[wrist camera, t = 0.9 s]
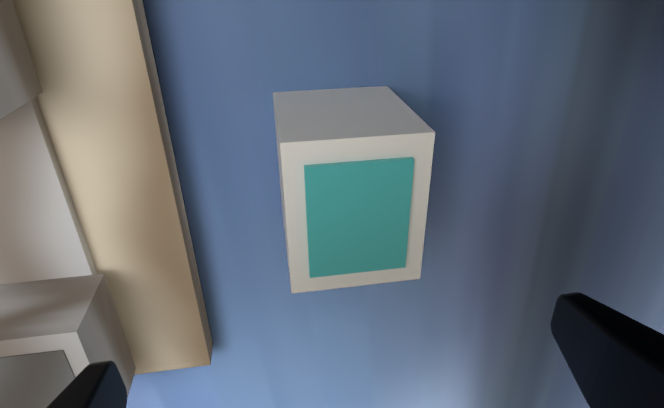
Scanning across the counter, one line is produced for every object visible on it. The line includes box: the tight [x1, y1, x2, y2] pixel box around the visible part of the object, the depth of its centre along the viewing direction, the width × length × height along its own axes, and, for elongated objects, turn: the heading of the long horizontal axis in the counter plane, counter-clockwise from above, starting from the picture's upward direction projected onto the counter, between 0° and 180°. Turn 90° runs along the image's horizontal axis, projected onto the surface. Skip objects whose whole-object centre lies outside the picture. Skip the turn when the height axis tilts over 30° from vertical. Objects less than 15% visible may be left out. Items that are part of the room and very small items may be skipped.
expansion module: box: [273, 86, 435, 293], centre depth 18 cm, size 5×6×6 cm
